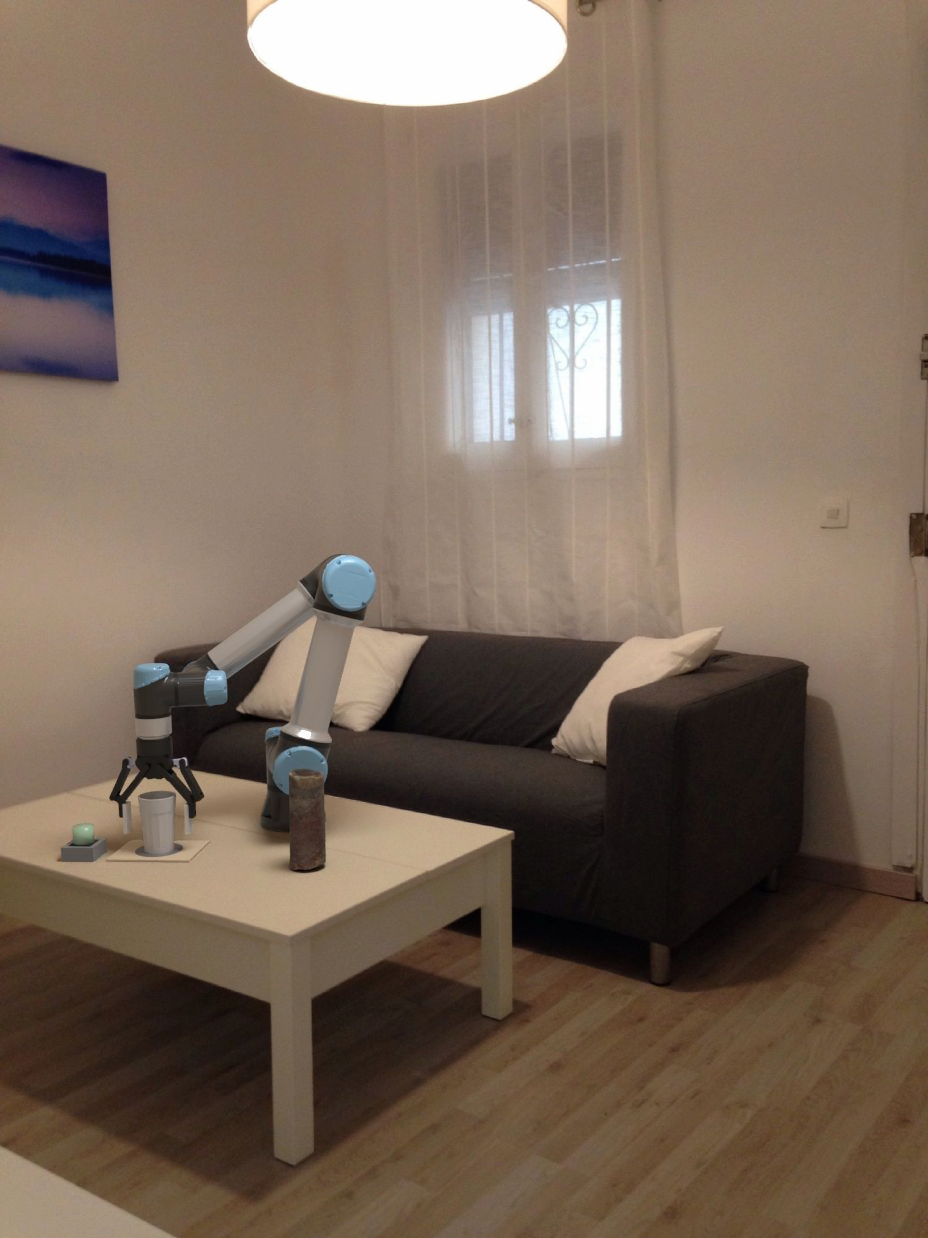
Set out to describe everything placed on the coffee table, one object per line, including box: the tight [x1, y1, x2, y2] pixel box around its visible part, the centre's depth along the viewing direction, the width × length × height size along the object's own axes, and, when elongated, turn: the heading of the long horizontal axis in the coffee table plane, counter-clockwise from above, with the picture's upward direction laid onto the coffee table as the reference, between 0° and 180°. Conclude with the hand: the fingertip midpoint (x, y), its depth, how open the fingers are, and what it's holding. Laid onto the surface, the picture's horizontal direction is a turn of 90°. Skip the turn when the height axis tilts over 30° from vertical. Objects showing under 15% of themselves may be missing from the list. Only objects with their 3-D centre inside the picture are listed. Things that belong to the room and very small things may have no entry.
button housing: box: [60, 837, 108, 863], centre depth 239 cm, size 7×7×3 cm
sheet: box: [105, 839, 211, 863], centre depth 242 cm, size 18×14×1 cm
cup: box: [137, 790, 177, 854], centre depth 241 cm, size 8×8×12 cm
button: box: [71, 822, 95, 845], centre depth 239 cm, size 4×4×4 cm
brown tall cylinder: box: [289, 769, 327, 871], centre depth 229 cm, size 8×7×20 cm
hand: (158, 832), depth 242 cm, fingers open, 13 cm apart
